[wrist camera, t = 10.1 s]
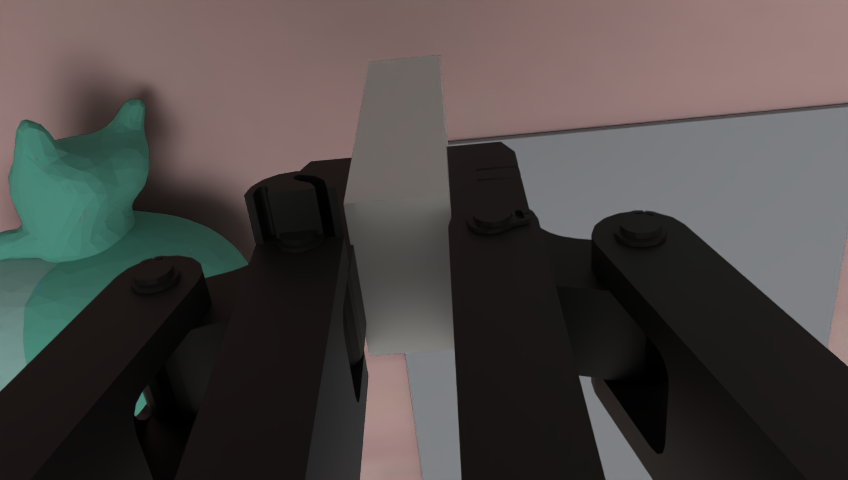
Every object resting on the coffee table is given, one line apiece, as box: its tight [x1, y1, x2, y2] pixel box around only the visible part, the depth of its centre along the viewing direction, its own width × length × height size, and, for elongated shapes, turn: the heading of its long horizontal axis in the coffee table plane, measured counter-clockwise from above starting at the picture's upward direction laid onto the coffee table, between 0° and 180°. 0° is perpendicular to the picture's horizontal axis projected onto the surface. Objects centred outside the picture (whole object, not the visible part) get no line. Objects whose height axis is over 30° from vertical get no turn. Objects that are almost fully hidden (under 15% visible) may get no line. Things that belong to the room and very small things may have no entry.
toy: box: [0, 99, 248, 416], centre depth 29 cm, size 10×10×15 cm
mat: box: [405, 104, 848, 480], centre depth 34 cm, size 18×18×1 cm
